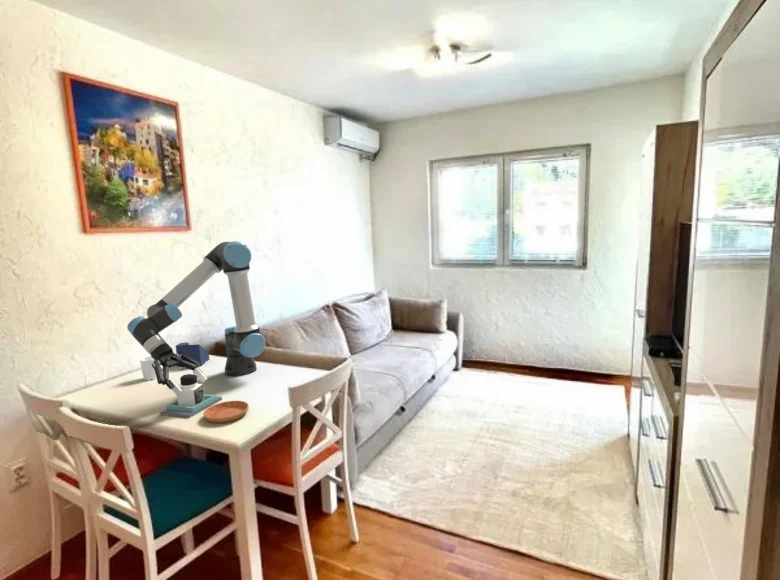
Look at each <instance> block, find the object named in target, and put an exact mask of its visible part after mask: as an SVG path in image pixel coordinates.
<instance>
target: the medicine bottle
mask: <svg viewBox="0 0 780 580" xmlns="http://www.w3.org/2000/svg"><path fill="white" fill-rule="evenodd" d="M179 379H180V387H179V388H180V389H181V390H182V392H181V393H180V394H179V395H178V396H177V395H176V397H177V400H178V405H179V406H189V407H193V406H195V405H197V404H199V403H201V402H202V401H204V395H203V394H204V389H203V388H204V386H203V383H198V378H197V375H196V374H194V373H185V374H183V375H182V376H180V378H179Z"/></svg>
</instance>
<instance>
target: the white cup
mask: <svg viewBox="0 0 780 580" xmlns="http://www.w3.org/2000/svg"><path fill="white" fill-rule="evenodd" d="M139 362H140V369H141V373H142V376H143V380H144V381H152V380H151V379H154V380H156V379H155V378H156V374H155V370H154V368H153V367H152V363H153V362H154V359H153V358H152V357H151V356H147V357H143V358H140V359H139Z"/></svg>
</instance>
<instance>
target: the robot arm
mask: <svg viewBox="0 0 780 580" xmlns="http://www.w3.org/2000/svg"><path fill="white" fill-rule="evenodd" d="M251 260H252V252H251V249H250V248H249V247H248V245H247V244H245V243H244V242H241V241H237V240H236V241H235V240H234V241H222V242H220V243H219V244H217V245H216V246H215V247H214V248H212V249H211V250H210V251H209V252H208V253H207V254H206V255H205V256H203V259H202V262H201V263H200V264H199V265H197V266H196V267H195V268H194V269H193V270H191V272H189V274H187V275H186V276H185V277H184V278H183V279H182V280H181V281H180V282H178V283H177V284H176V285H175V286H174V287H173V288H172V289H171V290H170V291H168V293H166V294H165V295H164V296H163V297H162V298H161V299H159V300H158V301H157V302H156V303H155V304H152V305H150V306H148V308H147V311H146V316H147V317H146V318H145V317H144V316H143V315H141V316H137V317H134V318H133V319H131V320H130V321H129V323H128V324H127V326H126V328H127V331H128V332H129V333H130V334H131V336H132V337H133V338H134V339H135V340H136V341H137V343H139V344H140V346H141V347H142V348H143V349H144V350H145V351H146V352H147V353H148V355H150V357H152V358H153V359H154V362H153V363H152V367H153V368H154V370H155V374H156V378H157V379H156V380H157V384H158V385H162V386H167V388H168V389H169V390H172V392H173V393H174V394H175V395H176V397H177V396H178V395H179V394H180V393H181V392H182V390H181V389H180V388H181V387H180V386H178V384H177V383H176V382H175V381H174V380H173V378H170V369H171V368H172V367H178V366H181V367H183V368H184V369H187V370H191V371H192V374H196V375H197V380H198V381H200V382H201V384H205V382H206V381H208V377H206V376H205V374H204V373H203V371H202V370H201V369H200V368H199V367H200V366H199V365H200V363H199V362H197V361H195V360H193V359H192V358H190V357H188V356H186V355H184V354H183V353H182V352H181V351H179V352H178V353H174V349H173V348H172V346H170V345H169V343H167V341H166V340H165V339H164V338H163V337H162V336H161V335H160V334H159V333H161V332H162V331H163V330H165V329H166V328H168V327H170V326H171V325H172V324H174V323H176V322H177V321H178V320H180V319H181V318H182V316H183V314H182V312H181V310H180V308H179V307H180V306H181V305H182V304H184V302H186V301H187V299H189V298H190V297H192V295H193V294H195V293H196V292H197V290H199V289H200V288H201V287H202V286H203V285H204V284H205V283H206V282H207V281H209V280H210V279H211V278H212V277H213V276H214V275H215V274H216V273H217V274H218V273H219V274H220V273H221V271H223V274H224V275H226V276H227V279H228V286H229V291H230V298H231V303H232V308H233V314H234V315H233V316H234V321H235V326H230V327H226V328H225V329H224V340H225V342H224V343H225V349H226V362H225V366H224V374H225V375H226V376H231V377H233V376H234V377H237V376H245V375H248V374H251V373H254V372H255V371H257V369H258V368H257V363H256V361H255V359H254V358H255V357H258V356H260V355H261V354H262V353H263V351H264V350H265V348H266V344H267V343H266V339H265V337H264V336H263V334H261V330H260V329H261V328H260V325H259V324H258V323H256V319H255V313H254V307H253V301H252V296H251V289H250V283H249V276H248V273H249V271H250V270H251V268H250V263H251ZM178 361H179V362H178Z"/></svg>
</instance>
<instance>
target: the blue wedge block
mask: <svg viewBox="0 0 780 580" xmlns="http://www.w3.org/2000/svg"><path fill="white" fill-rule="evenodd" d="M175 351H176V353H175V354H177V353H178V352H179V351H181V352H182V353H183V354H184V355H186V356H188V357H190V358H192V359H193V360H195V361H197V362H199V363H200V365H199V367H202V366H204V365H205V364H206V363H207V362H208V360H209V361H210V353H209V352H208V351H207V350H206V349H205V348H204V347H203V346H202V345H201V344H190V343H189V342H179V343H177V344H176V345H175ZM206 361H207V362H206ZM178 362H179V361H178ZM205 362H206V363H205ZM204 363H205V364H204ZM203 364H204V365H203ZM178 367H181V366H177V368H178Z"/></svg>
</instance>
